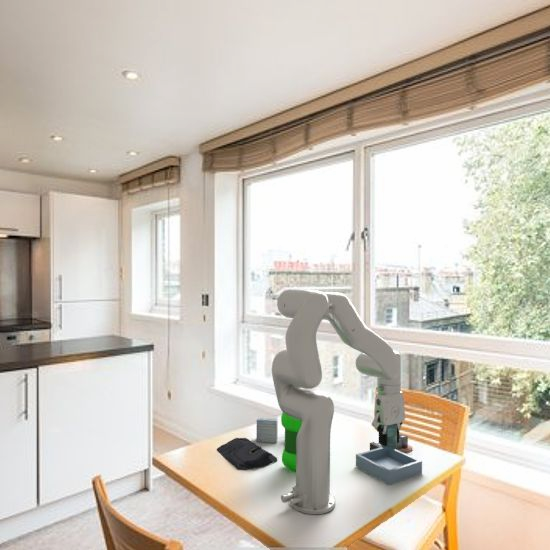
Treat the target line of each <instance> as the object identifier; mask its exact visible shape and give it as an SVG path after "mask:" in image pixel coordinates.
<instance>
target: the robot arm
mask: <svg viewBox="0 0 550 550" xmlns="http://www.w3.org/2000/svg"><path fill="white" fill-rule="evenodd" d="M276 305H277V310H278V312H279V313H280V315H282V316H283V317H285V318H289V319H291V321H290V323H289V325H288V327H287V329H286V332H285V337H284V338H285V340H284V341H285V349H284V350H281V351H279V352H277V354H276V355H275V356H274V358H273V361H272V363H271V377H272V382H273V386H274V391H275V394H276V400H277V403H278V407H279V409H280V410H281V412H282V413H285V414H286V415H288V416H290V417H293V418H295V419H298V420H299V421H301V422H302V426H301V428H300V430H299V432H298V434H297V439H296V472H295V485H294V486H292V491H290V492H288V493H285V494H281V496H280V500H281V502H282V503H283V504H285V503H288V502H290V503H289V504H290V505H291V506H292V508H294V509H295V510H296V511H298V512H300V513H303V514H308V515H323V514H327V513H329V512H330V511H332V510H333V509H334V508H335V506H336V498H335V496H334V495H333V494H332V493H331V491H330V490H331V489H330V488H331V487H330V486H331V429H332V424H333V420H334V419H333V418H334V414H335V405H334V402H333V399H332V398H331V397H330V396H329V394H327V393H325V392H323V391H321V390H319V389H315V388H317V387H319V385H320V384H321V382H322V379H323V371H322V364H321V359H320V355H319V348H318V343H317V331H318V329H319V326H320V325H321V323H322V321H323V320H326V321H328V322H329V323H330V325H331V327H332V328H333V329H334V331H335V333H336V334H337V336H339V338H340V339H341V341H342V342H343V343H344V344H345V345H346V346H348V347H350V348H352V349H354V350H356V351H358V352H360V354H358V355H357V357H356V359H355V368H356V370H357V371H358V372H359V373H361V374H363V375H364V376H365V375H366V376H368V377H374V378H376V379H377V382H376V384H377V385H376V393H375V401H374V410H373V411H374V412H373V413H374V414H373V415H374V418H373V420H372V422H371V426H372V427H374V429H375V430H376V431H377V433H378V443H379V444H381V445H383V446H387V434H386V428H387V426H389V425H393V424H397V443H398V442H399V435H400V430H402V425H403V423H404V421H405V420H406V418H407V417H406V409H405V400H404V394H403V391H402V390H401V389H402V387H401V386H402V385H401V384H402V383H401V382H402V377H401V376H402V375H401V374H402V373H401V372H402V371H401V370H402V366H401V365H402V364H401V363H402V359H401V353H400V352H398V351H397V350H394V349H393V348H392V347H391V345H390V344H389V343H388V342H387V341H386V340H385V339H383V338H382V337H381V336H380V335H378V334H377V333H376V332H374V331H373V330H371V329H370V328H369V327H367V325H366V324H365V323H364V321H363V320H362V318H361V317H360V315H359V313H358V312H357V310H356V308H355V306H354V305H353V303H352V302H351V300H350V299H349V298H348V296H347V295H345V294H343V293H342V292H336V291H335V292H333V291H320V290H316V289H315V290H314V289H299V288H298V289H297V288H293V289H292V288H289V289H286V290H283V292H281V293H280V294H279V296H278V298H277V301H276ZM382 425H383V429H382V428H381V427H382Z"/></svg>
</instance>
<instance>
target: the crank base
mask: <svg viewBox="0 0 550 550" xmlns="http://www.w3.org/2000/svg"><path fill="white" fill-rule="evenodd" d="M412 449H413V446H412V445H410V444H408V448H401V449H397V450H398V451H401V452H403V453H410V452H409V451H411V452H412V451H413V450H412Z"/></svg>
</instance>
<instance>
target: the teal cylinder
mask: <svg viewBox="0 0 550 550" xmlns="http://www.w3.org/2000/svg"><path fill="white" fill-rule="evenodd" d="M381 428H382V429H383V425H382V427H381ZM386 434H387V446H383V445H381V447H382V448H384V449H387V450H394V449H396V448H397V424H393V425H389V426H387V428H386Z"/></svg>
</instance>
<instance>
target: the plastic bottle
mask: <svg viewBox="0 0 550 550" xmlns="http://www.w3.org/2000/svg"><path fill="white" fill-rule="evenodd" d="M280 419H281V420H280V423H281V426H282V427H283V428H284V449H283V451H282V455H281V462H282V464H283V466H284V467H286V469H288V471H290V472H291V473H296V439H297V434H298V432H299V430H300V428H301V426H302V422H301V421H299V420H298V419H295V418H293V417H290V416H288V415H286V414H285V413H283V412H282V413H281V416H280Z"/></svg>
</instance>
